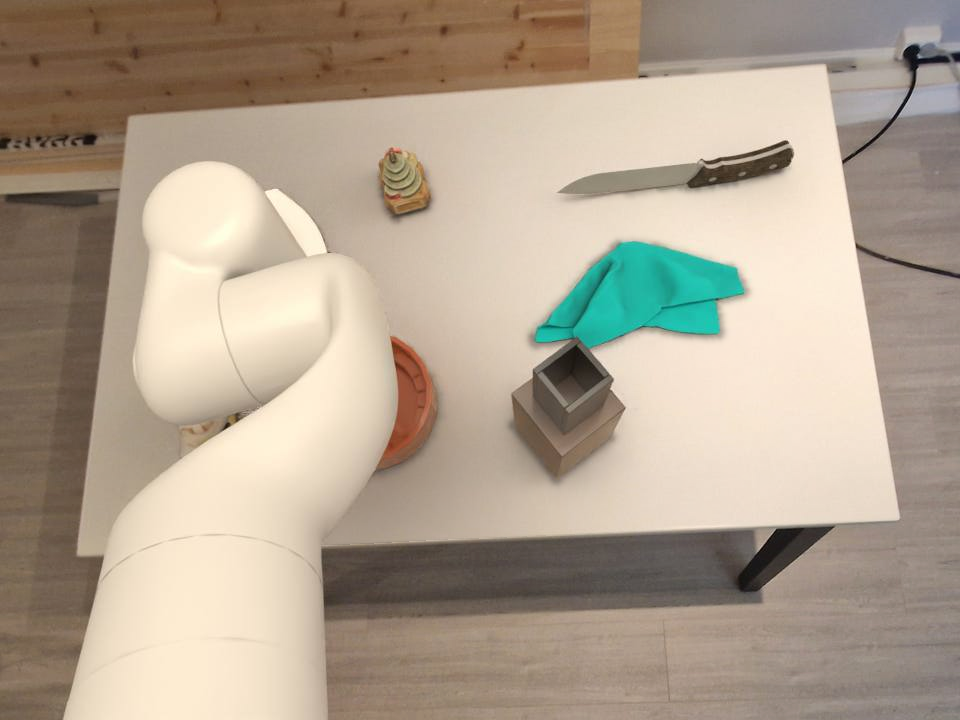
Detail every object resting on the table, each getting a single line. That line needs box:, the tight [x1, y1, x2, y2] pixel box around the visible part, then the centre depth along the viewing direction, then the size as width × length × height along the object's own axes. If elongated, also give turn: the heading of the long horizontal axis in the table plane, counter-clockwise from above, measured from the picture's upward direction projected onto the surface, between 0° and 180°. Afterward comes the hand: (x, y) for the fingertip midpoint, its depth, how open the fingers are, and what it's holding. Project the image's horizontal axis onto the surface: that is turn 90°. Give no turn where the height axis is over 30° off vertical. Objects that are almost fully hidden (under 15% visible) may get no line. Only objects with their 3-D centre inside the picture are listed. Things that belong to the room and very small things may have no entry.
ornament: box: [378, 146, 431, 216], centre depth 89 cm, size 8×6×10 cm
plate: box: [263, 187, 328, 257], centre depth 91 cm, size 19×19×2 cm
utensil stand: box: [510, 337, 627, 479], centre depth 72 cm, size 8×8×23 cm
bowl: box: [375, 335, 438, 470], centre depth 82 cm, size 15×15×6 cm
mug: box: [176, 413, 238, 459], centre depth 83 cm, size 8×10×10 cm
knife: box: [556, 139, 795, 195], centre depth 89 cm, size 6×2×30 cm
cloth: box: [534, 240, 745, 349], centre depth 86 cm, size 26×14×2 cm, turn 95°
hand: (333, 367), depth 68 cm, fingers open, 9 cm apart
